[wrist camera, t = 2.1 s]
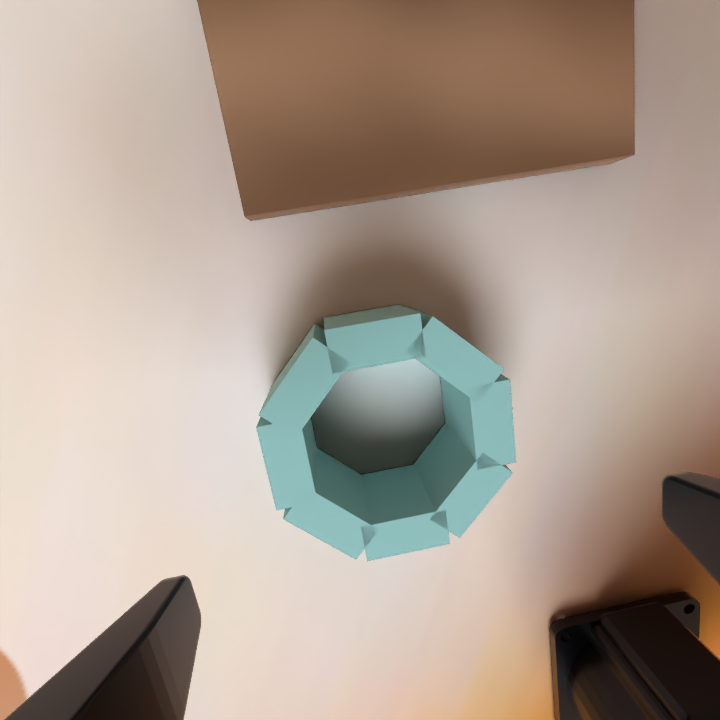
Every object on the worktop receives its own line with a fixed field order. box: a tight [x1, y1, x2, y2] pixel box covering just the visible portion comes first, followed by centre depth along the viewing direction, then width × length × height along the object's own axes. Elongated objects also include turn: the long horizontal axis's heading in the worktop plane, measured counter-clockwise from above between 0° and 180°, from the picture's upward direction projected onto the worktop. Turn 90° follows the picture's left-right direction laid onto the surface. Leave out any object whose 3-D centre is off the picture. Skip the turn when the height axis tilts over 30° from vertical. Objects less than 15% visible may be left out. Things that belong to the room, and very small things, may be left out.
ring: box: [256, 305, 516, 561], centre depth 13 cm, size 7×7×3 cm
